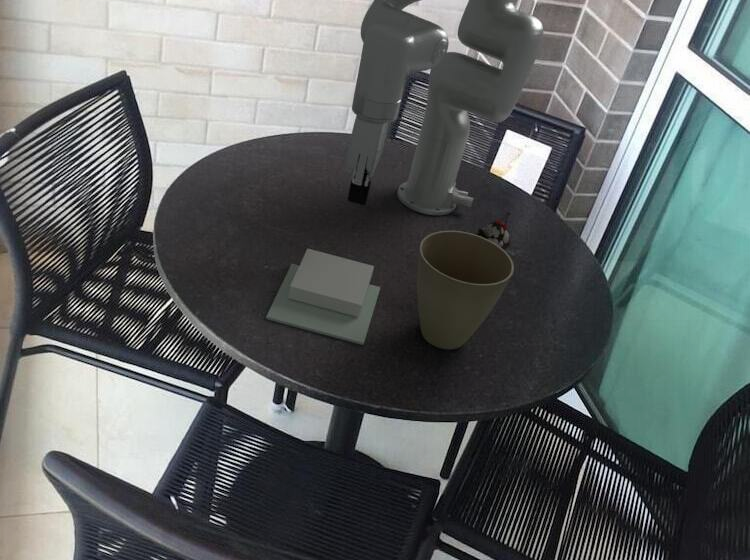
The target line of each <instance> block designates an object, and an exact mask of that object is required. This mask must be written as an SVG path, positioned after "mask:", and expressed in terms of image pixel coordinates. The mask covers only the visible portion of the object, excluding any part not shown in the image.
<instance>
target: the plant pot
mask: <svg viewBox="0 0 750 560" xmlns="http://www.w3.org/2000/svg"><path fill="white" fill-rule="evenodd" d="M514 266H515V265H514V262H513V260H512V258H511V257H510V255H509V254H508V253H507V252H506V250H503V249H502V248H501V247H499V246H498V245H496V244H495V243H493V242H491V241H490V240H488V239H485V238H483V237H481V236H478V235H475V233H470V232H466V231H461V230H460V231H459V230H439V231H436V232H433V233H430V234H428V235H426V236H425V237H424V238H423V239H422V240H421V242H420V244H419V251H418V261H417V275H416V278H417V280H416V287H417V290H416V291H417V294H416V295H417V296H416V297H417V311H418V317H419V324H420V325H419V326H420V331H421V335H422V337H423V338H424V340H425V341H426V342H427V343H429V345H432V346H433V347H436V348H439V349H443V350H455V349H459V348H461V347H463V345H464V344H466V342H467V341H468V340H470V338H471V337H472V336H473V335H474V333H475V332H476V331H477V330H478V329H479V327H480V326H481V325H482V324H483V323H484V321H485V320H486V318H487V317H488V315H489V314H490V313H491V312H492V310H493V308H494V307H495V306H496V304H497V303H498V300H499V299H500V297H501V295H502V294H503V292H504V290H505V289H506V287H507V285H508V283H509V282H510V280H511V278H512V277H513V273H514V269H515V267H514Z"/></svg>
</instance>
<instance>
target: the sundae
mask: <svg viewBox="0 0 750 560" xmlns="http://www.w3.org/2000/svg"><path fill="white" fill-rule="evenodd" d="M510 215H511V212H506V215H505V216H504V217H503V218H502V219H495V220H494V221H493V222H489V223H488V224H486V225H485V227H482V228H481V227H478V228H477V230H476V231H475V233H474V234H475V235H478V236H481V237H483V238H485V239H488V240H490V241H491V242H493V243H495V244H496V245H498V246H499V247H501V248H502V249H503V250H504V251H506V250H507V249H509V247H511V246H512V244H513V242H512V240H511V239H510V236H509V232H508V231H507V229H508V225H507V222H508V221H507V220H508V218H509V216H510ZM504 219H505V223H502V221H503V220H504Z"/></svg>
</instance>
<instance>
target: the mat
mask: <svg viewBox="0 0 750 560" xmlns="http://www.w3.org/2000/svg"><path fill="white" fill-rule="evenodd" d="M299 266H300V265H298V264H295V263H291V264H290V267H289V269H288V271H287V273H286V275H285V277H284V279H283V281H282V283H281V284H280V287H279V289H278V291H277V294H276V296H275V297H274V299H273V302H272V304H271V306H270V308H269V310H268V312H267V314H266V316H265V319H266V320H268V321H272V322H276V323H280V324H283V325H287V326H290V327H295V328H298V329H302V330H306V331H309V332H312V333H316V334H321V335H324V336H329V337H331V338H334V339H335V338H336V339H339V340H343V341H346V342H349V343H354V344H357V345H361V346H364V345H365V340H366V337H367V335H368V331H369V329H370V328H369V327H370V323H371V321H372V317H373V315H374V311H375V307H376V304H377V300H378V297H379V294H380V290H381V286H377V285H374V284H369V287H368V290H367V293H366V296H365V299H364V302H363V305H362V309H361V312H360V315H359V317H356V316H352V315H348V314H345V313H341V312H337V311H333V310H330V309H326V308H322V307H319V306H315V305H311V304H307V303H304V302H300V301H296V300H293V299H289V298H288V295H289V290H290V285H291V283H292V281H293V279H294V277H295V275H296V272H297V270H298V268H299Z"/></svg>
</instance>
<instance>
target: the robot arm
mask: <svg viewBox="0 0 750 560" xmlns="http://www.w3.org/2000/svg"><path fill="white" fill-rule="evenodd" d="M420 1H422V0H373V1H372V3H371V4H370V6H369V8H368V9H367V11H366V13H365V15H364V17H363V19H362V22H361V25H360V37H361V40H362V50H361V55H360V61H359V66H358V71H357V77H356V83H355V88H354V89H355V90H354V93H353V99H352V105H351V111H352V112H353V113H354V115H356V116H355V119H354V122H353V127H352V131H351V134H350V140H349V145H348V150H347V154H346V159H345V163H344V167H343V170H344V172H345V173H351V172H353V174H352V178H351V181H350V184H349V189H348V195H347V201H348V202H350V203H353V204H358V205H362V206H366V204H367V201H368V198H369V193H370V188H371V183H372V181H370V180H371V178H372V177H373V176H374V174H375V170H376V168H377V165H378V163H379V160H380V158H381V155H382V153H383V149H384V145H385V143H386V138H387V132H388V129H389V124H390V123H393V122H395V121H397V119H398V116H399V112H400V108H401V103H402V98H403V94H404V90H405V85H406V81H407V76H408V74H409V73H417V72H424V71H429V70H430V71H429V77H428V85H427V86H428V88H427V89H428V90H427V99H426V107H425V112H424V116H423V120H422V124H421V127H420V132H419V136H418V140H417V144H416V147H415V151H414V155H413V159H412V163H411V167H410V171H409V175H408V179H407V181H405V182H402V183H401V184H400V185H399V187H398V189H397V193H396V194H397V198H398V200H399V201H400V202H401V203H402V204H403V205H404V206H406V207H407V208H408V209H410V210H413V211H415V212H417V213H420V214H423V215H429V216H444V215H449V214H450V213H452V212H454V211H455V209H456V205H457V204H460V205H462V206H466V207H470V208H471V207H472V204H473V200H474V197H472V196H471V197H470V196H468V194H469V192H468V191H464V190H460V189H458V188H457V187H456V185H457V181H456V180H457V177H458V173H459V171H460V170H459V169H460V166H461V162H462V159H463V156H464V153H465V149H466V146H467V141H468V140H469V139H468V138H469V135H470V131H471V124H470V123H471V122H470V117H469V113H470V114H473V115H475V116H477V117H480V118H482V119H485V120H487V121H490V122H493V123H501V122H504V121H505V120H506V119H507V118H509V116H510V115H511V113H512V112H513V110H514V108H515V106H516V104H517V103H518V100H519V97H520V95H521V93H522V91H523V89H524V86H525V84H526V82H527V80H528V77H529V75H530V73H531V72H532V68H533V67H534V64H535V61H536V59H537V57H538V54H539V52H540V49H541V47H542V43H543V39H544V27H543V24H542V22H541V21H540V19H538V17H536V16H534V15H532V14H530V13H527V12H524V11H521V10H519V9H516V6H517V3H518V1H519V0H468V1H467V4H466V6H465V8H464V12H463V13H462V15H461V18H460V21H459V25H458V28H457V39H458V40H459V42H460V43H461V44H462V45H464V46H465V47H467V48H469V49H470V50H473V51H475V52H478V53H480V54H482V55H484V56H487V57H490V58H493V59H495V60H497V61H500V62H502V63H503V64H502V68H499V67H496V66H494V65H491V64H489V63H486V62H485V61H482V60H479V59H478V58H475V57H472V56H470V55H467V54H464V53H461V52H456V51H448V49H449V45H450V44H449V42H450V41H449V36H448V33H447V32H446V30H444V28H443V27H441V26H440V25H438V24H437V23H434V22H432V21H429V20H428V19H425V18H422V17H419V16H418V15H416V14H412V13H410V12H407V11H405V10H404V9H405V8H406V7H408V6H409V5H413V4H414V3H417V2H420Z"/></svg>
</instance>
